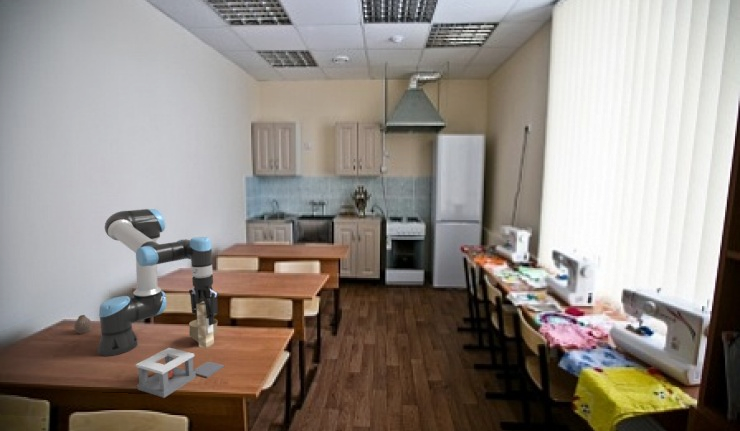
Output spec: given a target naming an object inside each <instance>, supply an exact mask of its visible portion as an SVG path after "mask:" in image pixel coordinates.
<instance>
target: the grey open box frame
mask: <svg viewBox="0 0 740 431" xmlns="http://www.w3.org/2000/svg"><path fill="white" fill-rule="evenodd" d="M195 356H196V355H195V353H194V352H193V353H192V352H188V351H184V350H181V349H177V348H171V347H167V348H165V349H163V350H161V351H159V352H157V353H155V354H154V355H151V356H149V357H147V358H145V359H143V360H142V361H140V362H138V363H135V368H137V369H138V382H139V383H137V385H136V387H137V390H138V391H142V392H145V393H147V394H151V395H155V396H157V397H160V398H163V399H165V398H166V397H168V396H169V395H171V394H172V393H175V392H176V391H177V390H179V389H180V388H182V387H183V386H186V385H187V384H188V383H189V382H192V381H193V380H194V379H196V376H197V375H196V373H194V372H193V370H194V357H195ZM162 359H164V364H163V363H160V362H159V361H161V360H162ZM183 363H184V369H183V368H179V367H178V366H180V365H182V364H183ZM171 369H173V374H174V375H173V376H172V377H171V378H169V380H168V371H169V370H171ZM148 371H149V372H153V373H155V374H153V375H151V376H150V377H149V376H148Z"/></svg>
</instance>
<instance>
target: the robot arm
mask: <svg viewBox="0 0 740 431" xmlns="http://www.w3.org/2000/svg"><path fill="white" fill-rule="evenodd" d="M165 229H166V222H165V218H164V216H163V214H162V213H161V211H160V210H158V209H155V208H145V209H144V208H143V209H134V210H133V209H132V210H121V211H117V212H115V213H113V214H112V215H110V216H109V217H108V218H107V219H106V221H105V223H104V231H105V233H106V235H107V236H108V237H109V238H110V239H112V240H114V241H117V242H118V241H119V242H120V243H121V244H123V245H125V246H126V247H127V248H129V250H131V251H132V252H134V253H135V266H136V269H135V270H136V271H135V272H136V274H135V275H136V289H135V290H134V291H133V293H132V295H133V296H132V297H130V296H127V295H121V296H116V297H111V298H110V299H107V300H105V301H103V302H102V303H101V304H100V305H99V313H98V316H99V321H100V331H101V332H100V333H101V336H100V339H99V342H98V347H97V354H99V356H103V357H104V356H105V357H108V356H116V355H120V354H124V353H127V352H130V351H131V350H133V349H135V348H136V347H137V346H138V341H139V340H138V337H137V336H136V334H135V332H134V330H133V325H132V324H133V323H135V322H138V321H139V322H140V321H142V320H146V319H149V318H152V317H156V316H158V315H161V314H162V313H163V312H164V311H165V310H166V307H167V297H166V293H165V292H164V291H163V290H162V288H161V287H160V286H158V265H160V264H166V263H172V262H177V261H181V260H182V261H183V260H191V261H190V263H191V276H192V278H191V280H192V282H191V283H192V286H193V288H192V289H189V290H188V293H189V295H190V296H189V297H190V306H191V313H192V314H195V316H196V319H197V306H196V304H199V303H201V302H203V301H204V302H205V305H206V312H207V316H208V317H206V326H207V333H210V332H212V331H213V324H214V319H215V316H217V315H218V314H219V311H218V307H219V306H218V297H219V291H214V289H213V284H214V276H213V274H214V272H213V256H212V254H213V253H212V252H213V251H212V249H213V248H212V241H211V238H210V237H208V236H197V237H192V238H190V239H188V238H187V239H179V240H177V241H173V242H167V243H161V244H159V243H157V242H158V241H157V240H159V239H160V238H161V233H163V232H164V231H165ZM197 323H198V322H197Z"/></svg>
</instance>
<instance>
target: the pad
mask: <svg viewBox="0 0 740 431" xmlns="http://www.w3.org/2000/svg"><path fill="white" fill-rule="evenodd" d="M224 367H225V365H224V364H220V363H217V362H213V361H206V362H205V363H203V364H201V365H200V366H197V367H196V368H195V369H194V368H193V372H194V373H196V376H199V377H204V378H206V379H208V378H209V377H210V376H212V375H215V373H217V372H218V371H220V370H222V369H223V368H224Z"/></svg>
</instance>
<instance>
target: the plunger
mask: <svg viewBox="0 0 740 431" xmlns="http://www.w3.org/2000/svg"><path fill="white" fill-rule="evenodd" d="M173 375H174V374H173V369H171V370H169V371H168V380H169V378H171V377H172V376H173Z"/></svg>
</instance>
